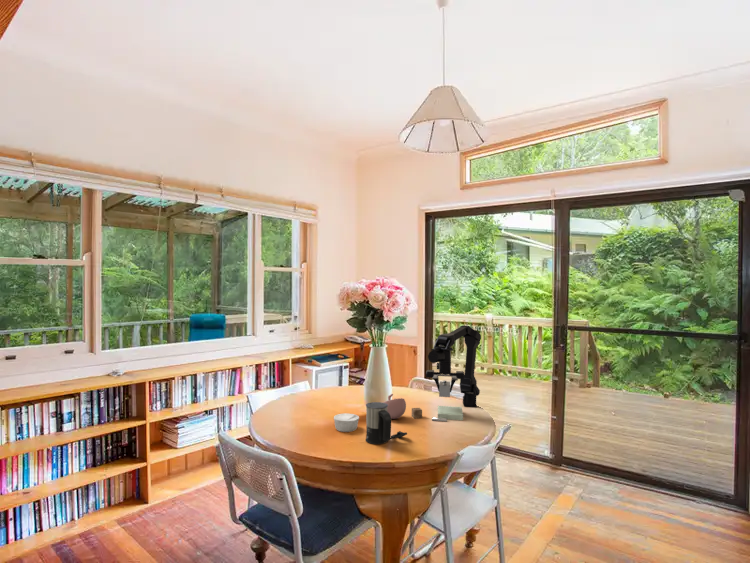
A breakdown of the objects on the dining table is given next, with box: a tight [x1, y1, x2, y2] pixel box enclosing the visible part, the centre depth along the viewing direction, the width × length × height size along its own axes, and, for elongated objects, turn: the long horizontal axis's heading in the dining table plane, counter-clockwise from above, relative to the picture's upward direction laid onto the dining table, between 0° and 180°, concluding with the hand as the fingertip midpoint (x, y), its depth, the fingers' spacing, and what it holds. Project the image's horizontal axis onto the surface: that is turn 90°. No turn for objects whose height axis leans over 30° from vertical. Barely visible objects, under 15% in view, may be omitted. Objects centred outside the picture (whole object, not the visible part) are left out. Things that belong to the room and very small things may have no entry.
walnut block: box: [411, 407, 423, 420], centre depth 216 cm, size 4×4×4 cm
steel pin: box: [431, 417, 448, 423], centre depth 211 cm, size 7×2×2 cm
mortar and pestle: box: [382, 393, 407, 420], centre depth 214 cm, size 12×12×12 cm
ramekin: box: [333, 412, 360, 433], centre depth 198 cm, size 11×11×5 cm
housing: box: [438, 380, 451, 398], centre depth 221 cm, size 5×8×6 cm, turn 170°
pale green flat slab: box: [437, 405, 464, 421], centre depth 220 cm, size 12×14×3 cm
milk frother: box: [365, 401, 408, 445], centre depth 184 cm, size 14×16×15 cm
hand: (444, 391), depth 221 cm, fingers closed on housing, 5 cm apart
